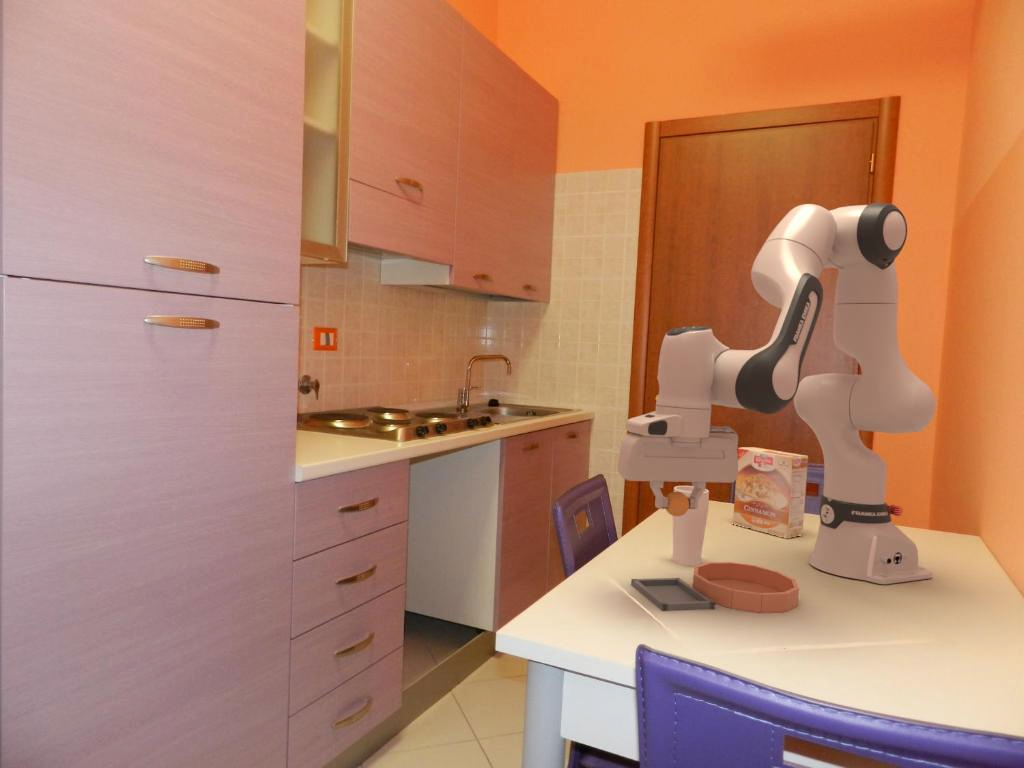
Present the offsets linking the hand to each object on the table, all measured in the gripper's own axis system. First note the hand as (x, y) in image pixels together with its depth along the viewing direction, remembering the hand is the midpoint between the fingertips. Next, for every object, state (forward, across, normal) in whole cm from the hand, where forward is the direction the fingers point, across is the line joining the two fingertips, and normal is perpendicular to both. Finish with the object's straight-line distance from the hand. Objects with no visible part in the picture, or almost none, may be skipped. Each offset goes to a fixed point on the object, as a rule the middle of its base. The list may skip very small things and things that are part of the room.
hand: (676, 508), depth 112 cm
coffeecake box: (+15, -48, -43) cm, 66 cm away
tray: (+15, 0, 0) cm, 15 cm away
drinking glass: (+15, -13, -18) cm, 27 cm away
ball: (+1, 0, 0) cm, 1 cm away
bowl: (+15, -14, 0) cm, 20 cm away
